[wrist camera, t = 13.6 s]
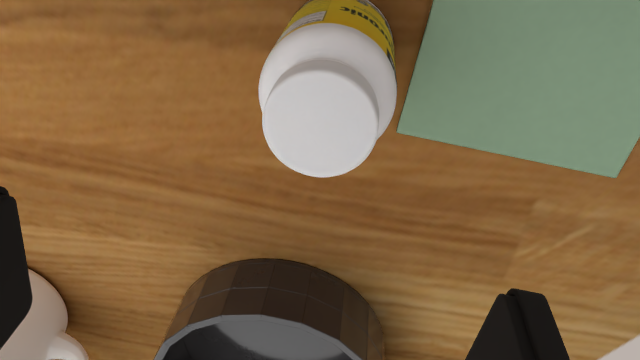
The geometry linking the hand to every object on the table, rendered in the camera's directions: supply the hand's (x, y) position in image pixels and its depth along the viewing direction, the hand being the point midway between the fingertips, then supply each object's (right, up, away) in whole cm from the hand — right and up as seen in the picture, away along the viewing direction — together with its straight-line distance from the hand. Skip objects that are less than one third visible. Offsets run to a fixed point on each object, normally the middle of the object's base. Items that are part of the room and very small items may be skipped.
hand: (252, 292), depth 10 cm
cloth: (+13, +10, +14) cm, 21 cm away
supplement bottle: (+2, +9, +16) cm, 18 cm away
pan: (-2, -9, +27) cm, 29 cm away
